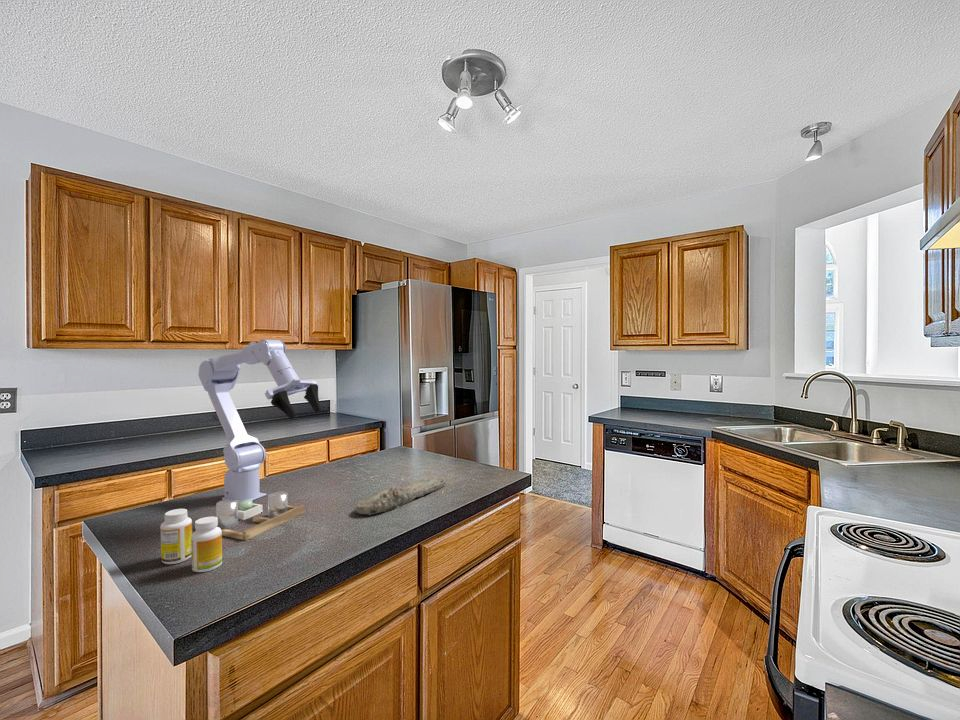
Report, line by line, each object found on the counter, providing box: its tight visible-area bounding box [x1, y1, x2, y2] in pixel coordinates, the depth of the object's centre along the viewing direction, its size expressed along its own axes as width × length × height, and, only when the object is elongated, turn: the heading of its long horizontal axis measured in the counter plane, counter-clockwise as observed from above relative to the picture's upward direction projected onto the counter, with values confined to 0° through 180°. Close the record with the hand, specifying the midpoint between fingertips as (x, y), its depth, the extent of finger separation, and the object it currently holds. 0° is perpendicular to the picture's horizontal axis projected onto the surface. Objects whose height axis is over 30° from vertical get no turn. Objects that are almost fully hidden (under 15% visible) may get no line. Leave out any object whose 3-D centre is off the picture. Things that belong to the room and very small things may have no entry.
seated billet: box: [267, 490, 289, 518], centre depth 118 cm, size 5×5×6 cm
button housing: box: [238, 502, 264, 521], centre depth 119 cm, size 6×6×2 cm
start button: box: [238, 499, 254, 511], centre depth 119 cm, size 4×4×2 cm
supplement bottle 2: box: [190, 516, 223, 573], centre depth 91 cm, size 5×5×10 cm
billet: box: [215, 499, 239, 530], centre depth 112 cm, size 5×5×6 cm
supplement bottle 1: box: [159, 508, 193, 565], centre depth 94 cm, size 6×6×10 cm
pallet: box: [221, 504, 306, 541], centre depth 113 cm, size 8×19×2 cm, turn 159°
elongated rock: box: [355, 476, 447, 516], centre depth 132 cm, size 35×5×10 cm
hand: (306, 413), depth 119 cm, fingers open, 7 cm apart
